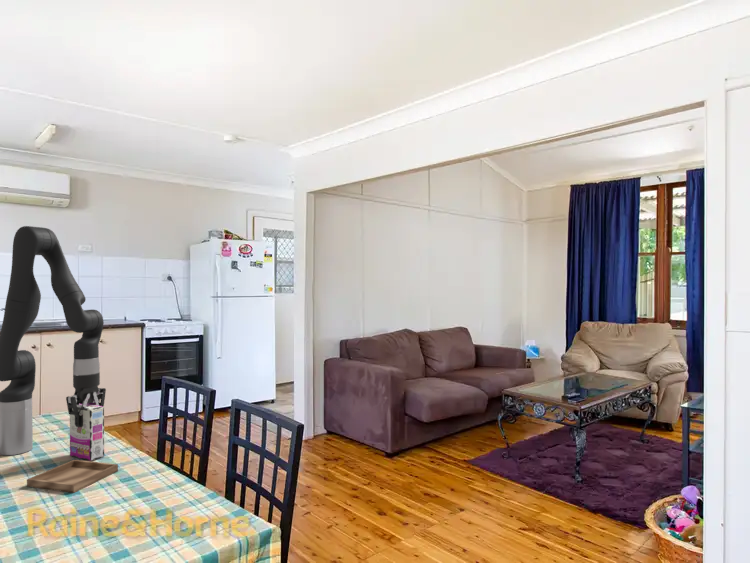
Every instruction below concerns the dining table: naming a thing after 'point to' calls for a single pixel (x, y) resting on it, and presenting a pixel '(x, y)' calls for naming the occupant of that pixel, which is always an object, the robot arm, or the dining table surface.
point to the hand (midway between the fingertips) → (86, 423)
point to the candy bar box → (88, 434)
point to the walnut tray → (72, 476)
